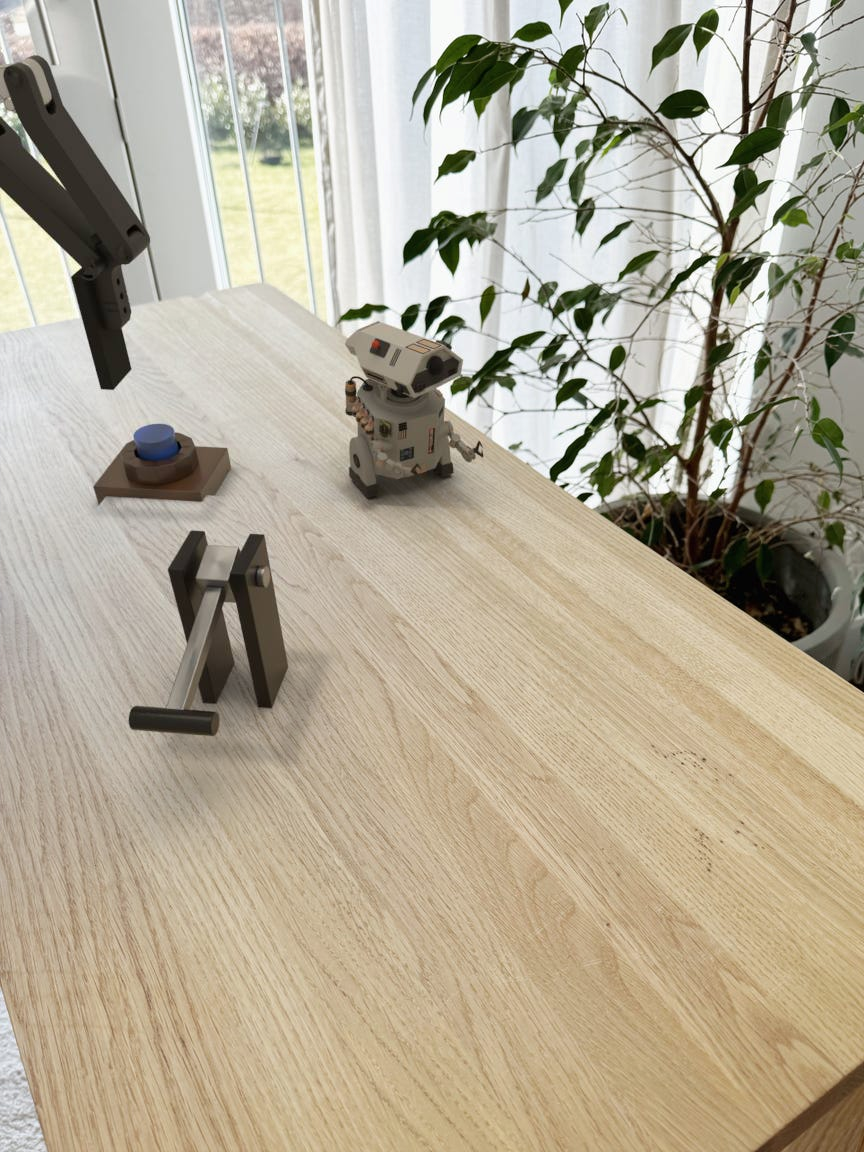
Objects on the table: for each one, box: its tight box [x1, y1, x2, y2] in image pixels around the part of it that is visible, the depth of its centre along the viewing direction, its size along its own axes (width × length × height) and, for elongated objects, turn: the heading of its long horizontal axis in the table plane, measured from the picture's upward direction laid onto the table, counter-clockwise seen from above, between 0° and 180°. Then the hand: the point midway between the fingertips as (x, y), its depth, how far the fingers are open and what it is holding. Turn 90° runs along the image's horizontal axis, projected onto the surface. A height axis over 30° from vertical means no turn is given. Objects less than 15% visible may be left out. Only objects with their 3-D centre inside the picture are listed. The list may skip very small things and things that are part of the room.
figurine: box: [344, 320, 484, 499], centre depth 89 cm, size 9×12×15 cm
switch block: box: [93, 431, 232, 506], centre depth 93 cm, size 10×8×4 cm
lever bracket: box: [167, 529, 289, 709], centre depth 68 cm, size 10×8×13 cm
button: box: [133, 423, 179, 461], centre depth 91 cm, size 4×4×2 cm
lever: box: [128, 544, 241, 737], centre depth 62 cm, size 13×5×2 cm, turn 173°
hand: (6, 373), depth 59 cm, fingers open, 13 cm apart
